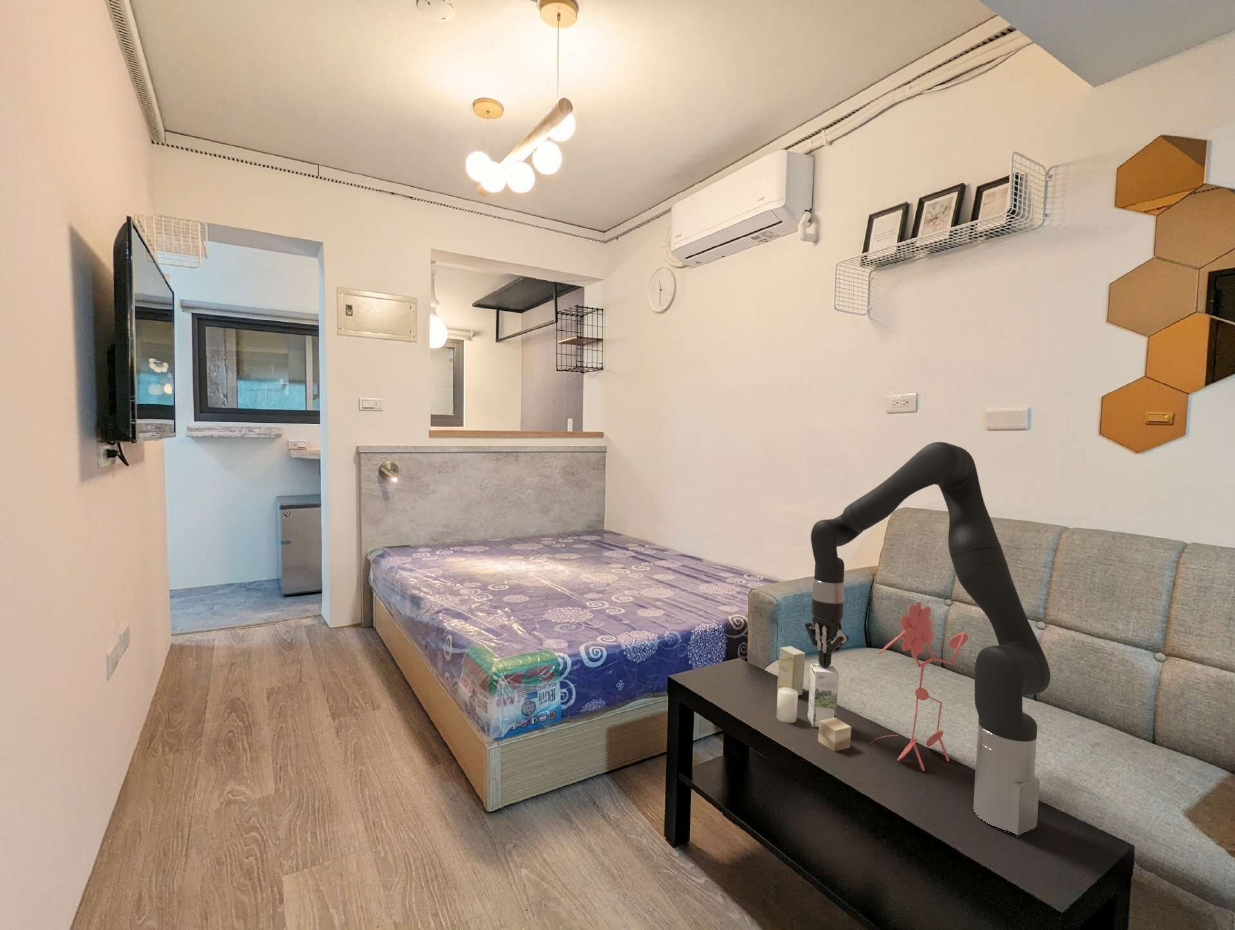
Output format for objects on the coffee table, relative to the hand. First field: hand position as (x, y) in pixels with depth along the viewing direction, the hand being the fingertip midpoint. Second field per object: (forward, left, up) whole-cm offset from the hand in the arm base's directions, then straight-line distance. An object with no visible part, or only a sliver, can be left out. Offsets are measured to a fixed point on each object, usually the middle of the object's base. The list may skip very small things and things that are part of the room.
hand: (824, 665), depth 146 cm
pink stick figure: (-18, -9, -15) cm, 25 cm away
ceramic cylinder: (+5, +7, -15) cm, 17 cm away
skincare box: (+18, -6, -15) cm, 24 cm away
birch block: (-9, +5, -15) cm, 18 cm away
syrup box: (0, 0, -15) cm, 15 cm away
